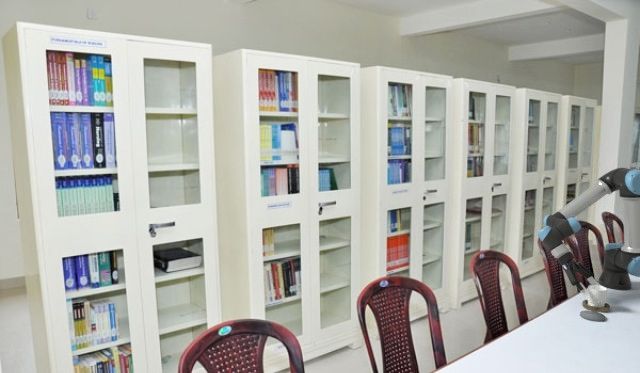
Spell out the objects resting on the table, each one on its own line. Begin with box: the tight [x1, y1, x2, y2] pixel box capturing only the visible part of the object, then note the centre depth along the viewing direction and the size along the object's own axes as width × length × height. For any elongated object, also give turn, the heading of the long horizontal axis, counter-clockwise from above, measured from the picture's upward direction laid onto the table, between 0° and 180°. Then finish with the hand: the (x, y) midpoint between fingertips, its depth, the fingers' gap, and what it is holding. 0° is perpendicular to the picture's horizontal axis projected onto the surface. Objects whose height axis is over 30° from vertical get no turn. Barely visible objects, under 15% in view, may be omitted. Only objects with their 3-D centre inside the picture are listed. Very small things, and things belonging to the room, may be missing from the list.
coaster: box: [579, 310, 606, 322], centre depth 213 cm, size 10×10×1 cm
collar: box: [581, 298, 611, 313], centre depth 223 cm, size 11×11×2 cm
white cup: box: [587, 284, 608, 308], centre depth 223 cm, size 8×8×10 cm
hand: (593, 292), depth 223 cm, fingers open, 13 cm apart
